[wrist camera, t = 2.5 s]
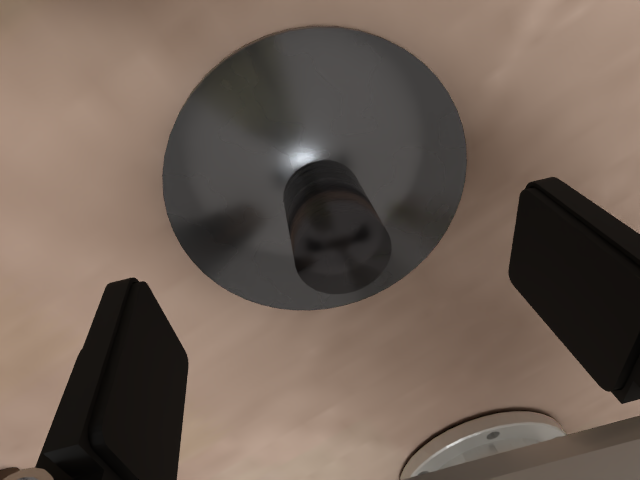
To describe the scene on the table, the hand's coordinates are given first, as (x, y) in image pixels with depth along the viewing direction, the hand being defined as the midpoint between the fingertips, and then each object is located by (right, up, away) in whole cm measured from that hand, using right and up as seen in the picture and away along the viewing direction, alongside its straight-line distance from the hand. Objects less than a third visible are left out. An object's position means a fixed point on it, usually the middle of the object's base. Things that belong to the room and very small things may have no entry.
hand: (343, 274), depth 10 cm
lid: (-1, +3, +6) cm, 7 cm away
